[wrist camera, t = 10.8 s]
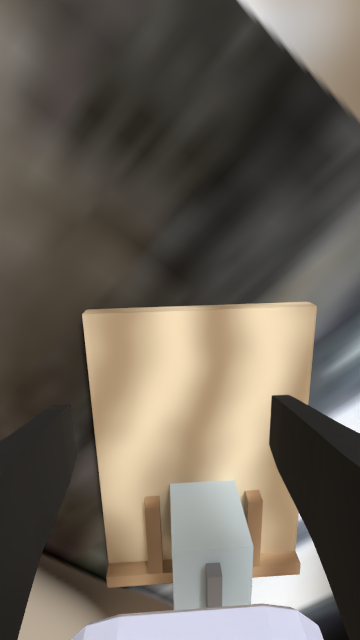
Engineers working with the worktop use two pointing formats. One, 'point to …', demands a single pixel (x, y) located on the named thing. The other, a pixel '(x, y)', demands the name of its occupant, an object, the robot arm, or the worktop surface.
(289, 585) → the worktop surface
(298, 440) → the robot arm
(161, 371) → the wall board
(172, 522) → the cabinet block
